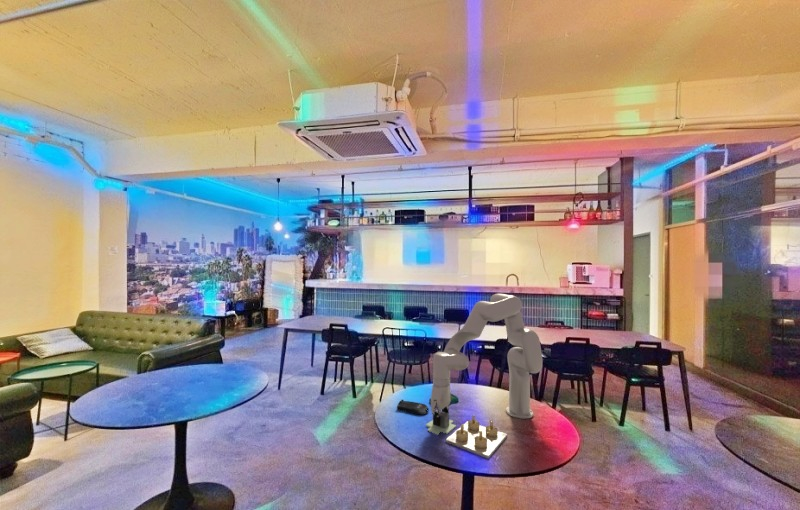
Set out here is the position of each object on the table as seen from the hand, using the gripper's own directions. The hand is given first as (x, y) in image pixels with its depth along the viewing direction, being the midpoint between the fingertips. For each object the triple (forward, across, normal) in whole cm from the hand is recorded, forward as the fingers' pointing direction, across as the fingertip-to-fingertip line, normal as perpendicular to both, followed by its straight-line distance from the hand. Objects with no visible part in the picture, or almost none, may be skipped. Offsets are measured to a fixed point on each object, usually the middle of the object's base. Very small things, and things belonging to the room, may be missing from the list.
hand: (441, 421), depth 145 cm
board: (+2, 0, 0) cm, 2 cm away
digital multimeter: (+3, -24, -12) cm, 27 cm away
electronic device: (+3, -6, -19) cm, 20 cm away
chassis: (+2, 0, +17) cm, 17 cm away
